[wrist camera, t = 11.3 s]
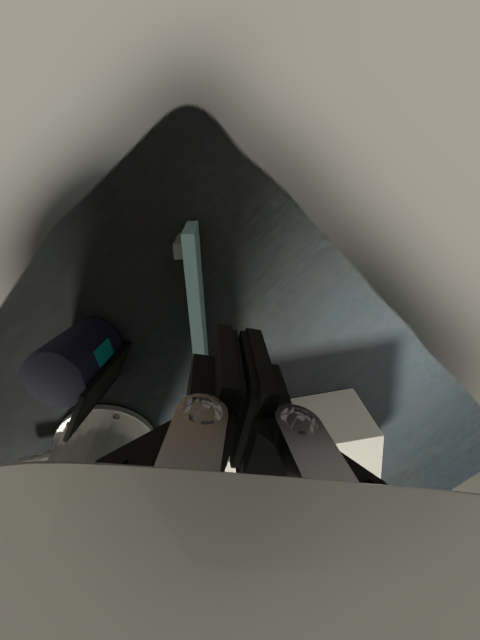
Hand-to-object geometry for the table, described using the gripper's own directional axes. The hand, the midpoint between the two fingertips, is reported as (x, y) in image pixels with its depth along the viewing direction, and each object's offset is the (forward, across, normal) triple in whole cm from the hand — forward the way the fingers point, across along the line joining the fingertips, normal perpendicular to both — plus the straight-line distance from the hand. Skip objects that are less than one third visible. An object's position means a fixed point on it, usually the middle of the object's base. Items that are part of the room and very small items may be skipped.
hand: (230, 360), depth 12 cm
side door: (+21, 0, +9) cm, 23 cm away
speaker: (+21, +11, +13) cm, 28 cm away
